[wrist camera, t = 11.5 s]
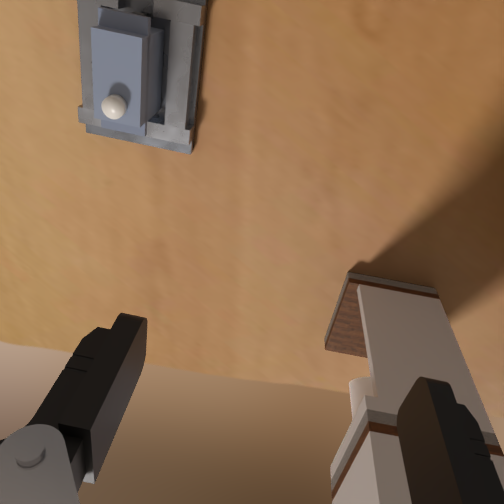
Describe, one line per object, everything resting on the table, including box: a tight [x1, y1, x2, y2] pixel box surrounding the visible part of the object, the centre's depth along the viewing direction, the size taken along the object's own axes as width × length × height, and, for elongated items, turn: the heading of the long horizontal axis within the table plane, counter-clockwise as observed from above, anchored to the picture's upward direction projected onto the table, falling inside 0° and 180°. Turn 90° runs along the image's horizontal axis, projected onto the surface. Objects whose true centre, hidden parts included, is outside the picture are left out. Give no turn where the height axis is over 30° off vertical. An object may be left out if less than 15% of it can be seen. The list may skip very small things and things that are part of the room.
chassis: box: [77, 0, 208, 154], centre depth 39 cm, size 15×11×2 cm
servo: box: [91, 7, 164, 137], centre depth 36 cm, size 10×4×7 cm, turn 170°
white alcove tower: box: [325, 272, 504, 504], centre depth 39 cm, size 11×11×35 cm
